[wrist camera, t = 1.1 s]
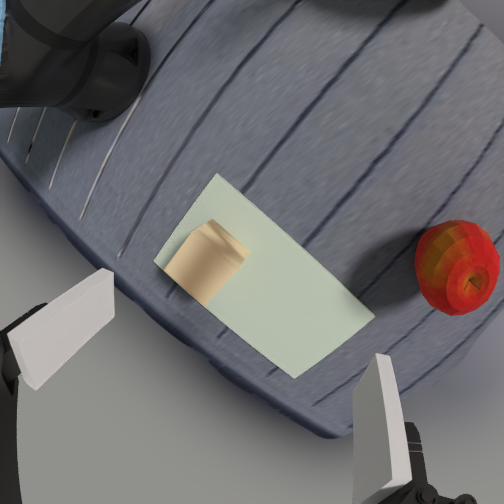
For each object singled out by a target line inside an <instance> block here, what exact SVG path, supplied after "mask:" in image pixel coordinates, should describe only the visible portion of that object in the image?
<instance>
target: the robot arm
mask: <svg viewBox="0 0 504 504" xmlns="http://www.w3.org/2000/svg"><path fill="white" fill-rule="evenodd" d="M140 1H142V0H0V108H9V107H57V108H59V109H60V110H62V111H64V112H66V113H68V114H70V115H71V116H73V117H75V118H77V119H79V120H82V121H87V122H103V121H107V120H110V119H112V118H114V117H116V116H118V115H119V114H121V113H122V112H123V111H124V110H126V109H127V108H128V107H129V106H130V105H131V103H132V102H133V101H134V100H135V98H136V97H137V95H138V94H139V92H140V91H141V89H142V87H143V85H144V83H145V80H146V78H147V74H148V71H149V66H150V47H149V44H148V41H147V39H146V37H145V36H144V34H143V33H142V32H141V31H139V30H138V29H136V28H134V27H132V26H130V25H128V24H126V23H122V22H114V21H115V20H116V19H117V18H119V17H120V16H121V15H122V14H124V13H125V12H126V11H128V10H129V9H130V8H132V7H133V6H134V5H136V4H137V3H139V2H140ZM114 317H115V312H114V272H111V271H108V270H106V269H103V268H101V269H100V270H98V271H97V272H95V273H94V274H92V275H91V276H89V277H88V278H86V279H85V280H83V281H82V282H80V283H78V284H77V285H76V286H74V287H72V288H71V289H69V290H68V291H66V292H65V293H64V294H62V295H61V296H59V297H58V298H56V299H55V300H54V301H52V302H50V303H49V304H48V303H43V304H40V305H37V306H35V307H34V308H32V309H31V310H30V311H29V312H28V313H25V314H24V315H23V316H22V317H20V318H18V319H17V320H15V321H14V322H13V323H11V324H10V325H8V326H7V327H6V328H4V329H3V330H2V331H0V504H22V499H21V492H20V484H19V474H18V461H17V438H16V437H17V428H16V427H17V426H16V425H17V423H16V422H17V398H18V385H19V384H18V383H19V381H18V377H17V376H18V375H19V374H20V373H21V374H22V376H23V378H24V381H25V382H26V383H27V384H28V385H29V386H31V387H32V388H33V389H34V390H37V389H38V388H39V387H40V386H41V385H42V384H43V383H44V382H45V381H47V380H48V379H49V377H51V376H52V375H53V374H54V373H55V372H56V371H57V370H58V369H59V368H60V367H61V366H62V365H63V364H64V363H65V362H66V361H67V360H68V359H69V358H70V357H71V356H72V355H73V354H75V353H76V352H77V351H78V350H79V349H80V348H81V347H82V346H83V345H84V344H85V343H86V342H87V341H88V340H90V339H91V338H92V337H93V336H94V335H95V334H96V333H97V332H98V331H99V330H100V329H101V328H103V327H104V326H105V325H106V324H107V323H108V322H109V321H110V320H111V319H112V318H114ZM352 401H353V433H354V473H353V475H354V476H353V504H477V502H476V500H475V499H474V497H473V496H471V495H469V494H463V495H460V496H459V497H457V498H456V499H450V498H446V497H443V496H439V495H438V492H437V490H436V489H435V488H434V487H433V486H432V485H430V484H428V482H427V476H426V470H425V463H424V457H423V453H422V445H421V444H420V443H421V440H420V435H419V432H418V430H417V428H416V427H415V425H414V423H411V422H404V420H403V415H402V409H401V404H400V399H399V394H398V390H397V385H396V380H395V376H394V372H393V367H392V363H391V359H390V356H387V355H382V354H378V353H375V355H374V357H373V358H372V360H371V362H370V364H369V365H368V367H367V369H366V371H365V372H364V374H363V376H362V377H361V379H360V381H359V382H358V384H357V385H356V387H355V389H354V390H353V392H352Z"/></svg>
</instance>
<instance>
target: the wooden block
mask: <svg viewBox="0 0 504 504" xmlns="http://www.w3.org/2000/svg"><path fill="white" fill-rule="evenodd" d="M249 254H250V251H249V250H248V249H247V248H246V247H244V246H243V245H242V244H241V243H240V242H239V241H238V240H236V239H235V238H234V237H233V236H232V235H231V234H230V233H228V232H227V231H226V230H225V229H224V228H223V227H222V226H221V225H219V224H218V223H217V222H216V221H215V220H214V219H211V220H210V221H208V222H207V223H205V224H203V225H202V226H200V227H198V228H197V229H195V230H194V231H192V232H191V234H190V235H189V236H188V238H187V239H186V240H185V242H184V243H183V245H182V246H181V247H180V249H179V250H178V251H177V253H176V254H175V256H174V257H173V258H172V260H171V261H170V262H169V264H168V265H167V267H166V268H165V269H164V271H165V272H166V273H167V274H168V275H169V276H171V277H172V278H173V279H174V280H175V281H176V282H177V283H178V284H179V285H181V286H182V287H183V288H184V289H185V290H186V291H187V292H188V293H190V294H191V295H192V296H193V297H194V298H195V299H196V300H198V301H199V302H200V303H201V304H202V305H203V306H205V305H206V304H207V303H208V302H209V301H210V300H211V299H212V298H213V297H214V295H215V294H216V293H217V292H218V291H219V290H220V289H221V288H222V287H223V286H224V284H225V283H226V282H227V281H228V280H229V279H230V278H231V277H232V276H233V275H234V273H235V272H236V271H237V270H238V269H239V267H240V266H241V265H242V263H243V262H244V260H245V259H246V258H247V256H248V255H249Z"/></svg>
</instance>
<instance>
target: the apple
mask: <svg viewBox="0 0 504 504" xmlns="http://www.w3.org/2000/svg"><path fill="white" fill-rule="evenodd" d="M414 267H415V271H416V275H417V280H418V283H419V286H420V289H421V292H422V294H423V296H424V297H425V299H426V300H427V301H428V303H429V304H430V305H431V306H432V307H434V308H436V309H438V310H440V311H442V312H444V313H446V314H448V315H451V316H454V315H464V314H466V313H469V312H471V311H473V310H476V309H477V308H479V307H480V306H481V305H482V304H484V303H485V302H486V301H487V300H488V299H489V297H490V295H491V294H492V292H493V290H494V288H495V286H496V283H497V279H498V276H499V273H500V257H499V255H498V253H497V251H496V249H495V247H494V245H493V243H492V241H491V238H490V236H489V234H488V233H487V232H486V231H485V230H483V229H482V228H481V227H479V226H478V225H477V224H475V223H471V222H468V221H464V220H455V221H447V222H445V223H442V224H439V225H436V226H433V227H431V228H430V229H429V230H427V231H426V232H425V233H424V234H423V235H422V237H421V238H420V240H419V242H418V243H417V248H416V254H415V265H414Z"/></svg>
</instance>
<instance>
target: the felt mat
mask: <svg viewBox="0 0 504 504" xmlns="http://www.w3.org/2000/svg"><path fill="white" fill-rule="evenodd" d="M211 219H214V220H215V221H216V222H217V223H218V224H219V225H221V226H222V227H223V228H224V229H225V230H226V231H227V232H228V233H230V234H231V235H232V236H233V237H234V238H235V239H236V240H238V241H239V242H240V243H241V244H242V245H243V246H244V247H246V248H247V249H248V250H249V251H250V254H249V255H248V256H247V258H246V259H245V260H244V262H243V263H242V265H241V266H240V267H239V269H238V270H237V271H236V272H235V273H234V275H233V276H232V277H231V278H230V279H229V280H228V281H227V282H226V283H225V284H224V286H223V287H222V288H221V289H220V290H219V291H218V292H217V293H216V294H215V295H214V297H213V298H212V299H211V300H210V301H209V302H208V303H207V304H206V305H205V306H204V307H205V308H206V309H207V310H209V311H210V312H211V313H212V314H213V315H214V316H216V317H217V318H218V319H219V320H220V321H222V322H223V323H224V324H225V325H226V326H228V327H229V328H230V329H231V330H232V331H234V332H235V333H236V334H237V335H239V336H240V337H241V338H242V339H243V340H245V341H246V342H247V343H248V344H250V345H251V346H252V347H253V348H255V349H256V350H257V351H259V352H260V353H261V354H262V355H264V356H265V357H266V358H267V359H269V360H270V361H271V362H273V363H274V364H275V365H277V366H278V367H279V368H280V369H282V370H283V371H284V372H286V373H287V374H288V375H290V376H291V377H292V378H294V379H295V378H296V377H298V376H299V375H300V374H302V373H303V372H305V371H306V370H308V369H309V368H310V367H312V366H313V365H315V364H316V363H317V362H319V361H320V360H321V359H323V358H324V357H325V356H327V355H328V354H329V353H331V352H332V351H333V350H335V349H336V348H337V347H339V346H340V345H341V344H342V343H344V342H345V341H346V340H347V339H349V338H350V337H351V336H353V335H354V334H355V333H356V332H357V331H359V330H360V329H361V328H362V327H364V326H365V325H366V324H367V323H368V322H370V321H371V320H372V319H373V318H374V317H375V315H374V314H373V313H372V312H371V311H370V310H369V309H368V308H367V307H366V306H365V305H364V304H363V303H362V302H361V301H360V300H359V299H357V298H356V297H355V296H354V295H353V294H352V293H351V292H350V291H349V290H348V289H347V288H346V287H345V286H344V285H343V284H342V283H340V282H339V281H338V280H337V279H336V278H335V277H334V276H333V275H332V274H331V273H330V272H329V271H328V270H326V269H325V268H324V267H323V266H322V265H321V264H320V263H319V262H318V261H317V260H316V259H314V258H313V257H312V256H311V255H310V254H309V253H308V252H307V251H306V250H305V249H303V248H302V247H301V246H300V245H299V244H298V243H297V242H296V241H295V240H293V239H292V238H291V237H290V236H289V235H288V234H287V233H286V232H285V231H283V230H282V229H281V228H280V227H279V226H278V225H277V224H276V223H274V222H273V221H272V220H271V219H270V218H269V217H268V216H266V215H265V214H264V213H263V212H262V211H261V210H260V209H258V208H257V207H256V206H255V205H254V204H253V203H252V202H250V201H249V200H248V199H247V198H246V197H245V196H243V195H242V194H241V193H240V192H239V191H238V190H236V189H235V188H234V187H233V186H232V185H231V184H229V183H228V182H227V181H226V180H225V179H224V178H222V177H221V176H220V175H219V174H218V173H216V174H215V176H214V177H213V178H212V180H211V181H210V182H209V184H208V185H207V186H206V188H205V189H204V190H203V192H202V193H201V194H200V196H199V197H198V198H197V200H196V201H195V202H194V204H193V205H192V207H191V208H190V209H189V211H188V212H187V213H186V215H185V216H184V218H183V219H182V220H181V222H180V223H179V225H178V226H177V227H176V229H175V230H174V232H173V233H172V235H171V236H170V237H169V239H168V240H167V242H166V243H165V245H164V246H163V248H162V249H161V251H160V252H159V254H158V255H157V256H156V258H155V259H154V262H155V263H156V264H157V265H158V266H159V267H160V268H161V269H162V270H163V271H164V269H165V268H166V267H167V265H168V264H169V262H170V261H171V260H172V258H173V257H174V256H175V254H176V253H177V251H178V250H179V249H180V247H181V246H182V245H183V243H184V242H185V240H186V239H187V238H188V236H189V235H190V234H191V232H192V231H194V230H195V229H197V228H198V227H200V226H202V225H203V224H205V223H207V222H208V221H210V220H211ZM164 272H165V271H164ZM170 277H171V276H170ZM171 278H172V277H171ZM172 279H173V278H172ZM173 280H174V279H173ZM174 281H175V280H174ZM175 282H176V281H175ZM180 286H181V285H180ZM181 287H182V286H181ZM182 288H183V287H182ZM183 289H184V288H183ZM184 290H185V289H184ZM189 294H190V293H189ZM190 295H191V294H190ZM191 296H192V295H191ZM192 297H193V296H192ZM197 301H198V300H197ZM198 302H199V301H198ZM199 303H200V302H199ZM200 304H201V303H200Z"/></svg>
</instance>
